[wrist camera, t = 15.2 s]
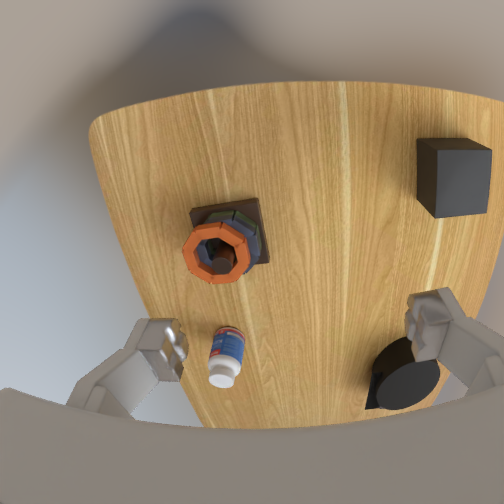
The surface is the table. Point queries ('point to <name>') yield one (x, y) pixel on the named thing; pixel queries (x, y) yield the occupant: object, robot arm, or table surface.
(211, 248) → the stack post
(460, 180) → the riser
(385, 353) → the black cylinder with pointer
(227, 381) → the pill bottle
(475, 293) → the table surface
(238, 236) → the orange ring
